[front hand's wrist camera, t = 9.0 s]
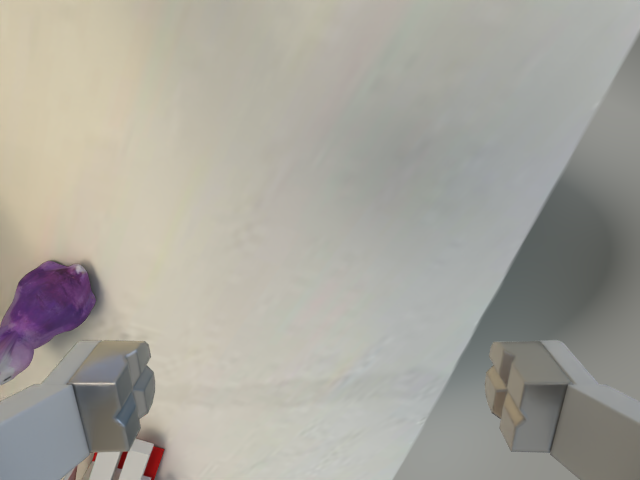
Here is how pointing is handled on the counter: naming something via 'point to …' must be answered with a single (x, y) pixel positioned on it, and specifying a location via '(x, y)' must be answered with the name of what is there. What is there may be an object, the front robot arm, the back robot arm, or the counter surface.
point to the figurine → (42, 313)
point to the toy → (123, 464)
